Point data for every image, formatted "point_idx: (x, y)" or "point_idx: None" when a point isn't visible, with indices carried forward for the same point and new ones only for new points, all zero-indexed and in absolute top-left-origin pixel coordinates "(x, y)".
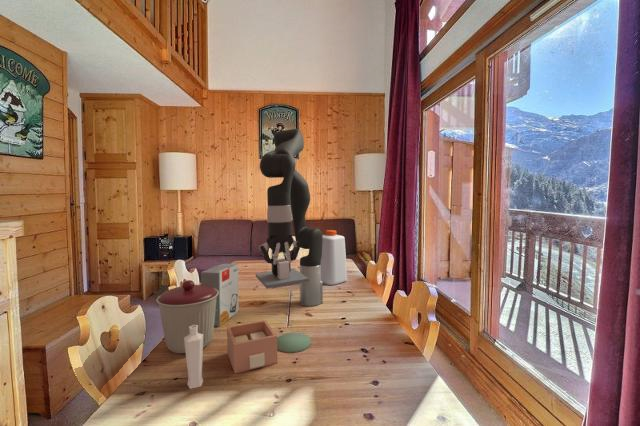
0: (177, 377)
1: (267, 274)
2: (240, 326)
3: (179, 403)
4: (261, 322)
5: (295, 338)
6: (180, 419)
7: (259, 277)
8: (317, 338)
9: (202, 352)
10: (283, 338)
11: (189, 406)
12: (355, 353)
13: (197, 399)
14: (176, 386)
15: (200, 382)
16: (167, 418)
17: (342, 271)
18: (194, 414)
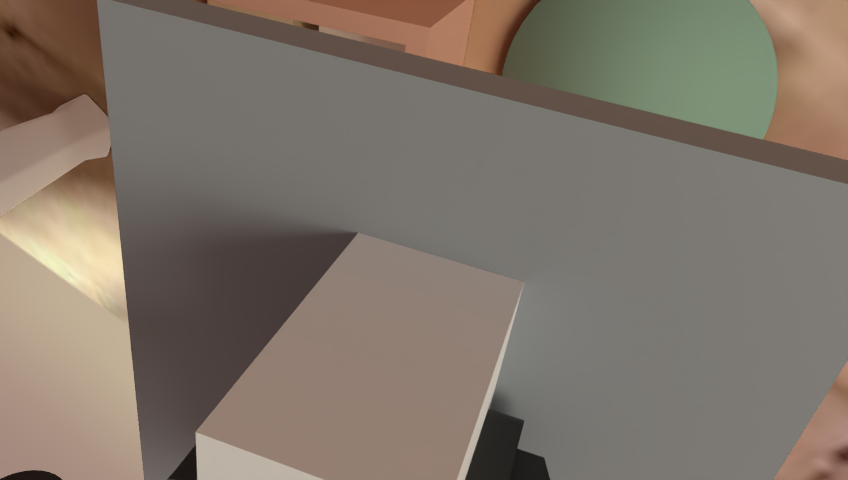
0: (16, 26)
1: (261, 192)
2: (228, 4)
3: (47, 201)
4: (388, 38)
5: (675, 75)
6: (59, 272)
7: (121, 238)
8: (820, 150)
9: (15, 181)
10: (605, 19)
11: (78, 236)
12: (831, 414)
13: (99, 220)
14: (23, 93)
15: (97, 156)
16: (24, 243)
17: None
18: (94, 279)
